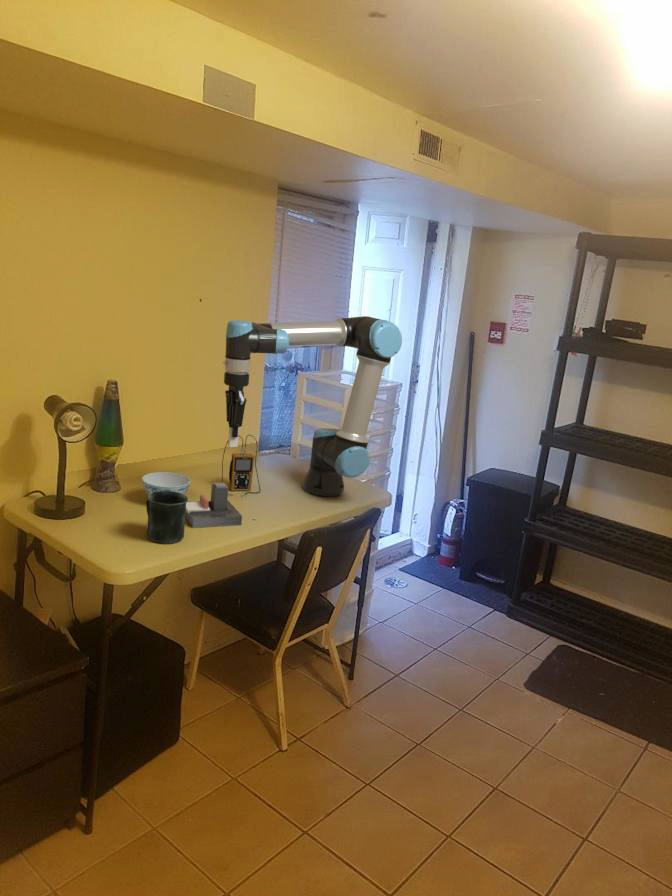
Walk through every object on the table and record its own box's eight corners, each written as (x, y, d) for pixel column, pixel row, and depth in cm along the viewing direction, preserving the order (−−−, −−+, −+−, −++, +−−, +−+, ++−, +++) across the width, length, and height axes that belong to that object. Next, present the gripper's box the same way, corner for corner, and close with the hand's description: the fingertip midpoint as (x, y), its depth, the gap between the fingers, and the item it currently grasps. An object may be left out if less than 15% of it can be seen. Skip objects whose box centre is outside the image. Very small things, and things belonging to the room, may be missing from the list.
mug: (161, 548, 189) (163, 507, 186) (130, 531, 197) (132, 491, 194) (193, 540, 197) (196, 500, 194) (162, 523, 206) (164, 485, 203)
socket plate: (227, 508, 224) (228, 498, 223) (241, 525, 212) (242, 514, 211) (181, 511, 217) (181, 500, 216) (192, 528, 205) (193, 516, 204)
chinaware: (139, 509, 215) (140, 485, 213) (142, 493, 229) (143, 470, 227) (188, 511, 218) (190, 487, 216) (188, 495, 232) (190, 473, 230)
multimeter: (224, 498, 233) (229, 441, 228) (218, 488, 242) (223, 433, 237) (267, 498, 239) (272, 442, 234) (259, 488, 248) (264, 434, 243)
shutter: (203, 503, 217) (204, 493, 216) (209, 511, 211) (210, 501, 210) (182, 504, 214) (182, 494, 213) (187, 512, 208) (188, 502, 207)
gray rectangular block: (221, 513, 219) (224, 482, 216) (225, 518, 216) (228, 486, 213) (209, 514, 217) (212, 482, 215) (213, 519, 214) (215, 486, 211)
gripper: (218, 368, 216) (215, 441, 222) (232, 376, 204) (228, 452, 211) (241, 368, 219) (237, 440, 225) (256, 376, 208) (251, 451, 214)
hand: (232, 446), depth 218 cm, fingers closed
